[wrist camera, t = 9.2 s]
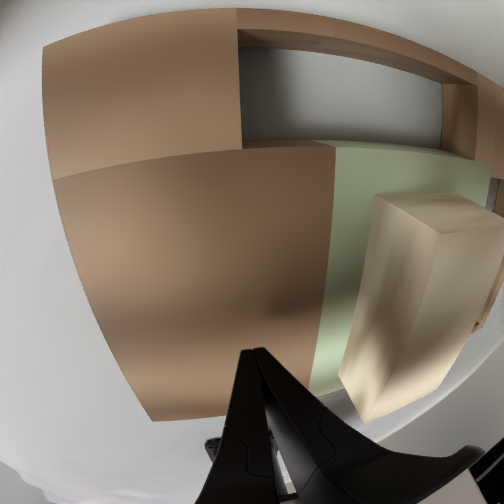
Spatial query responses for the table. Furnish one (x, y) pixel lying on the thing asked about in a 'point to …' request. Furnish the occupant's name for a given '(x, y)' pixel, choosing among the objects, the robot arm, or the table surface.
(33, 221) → the table surface
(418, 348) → the maple slab
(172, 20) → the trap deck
